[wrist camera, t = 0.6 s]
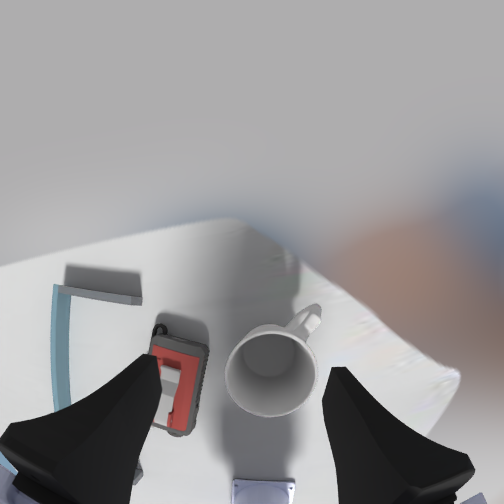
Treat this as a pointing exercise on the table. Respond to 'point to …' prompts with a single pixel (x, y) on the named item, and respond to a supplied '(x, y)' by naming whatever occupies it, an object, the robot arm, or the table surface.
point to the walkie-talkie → (178, 381)
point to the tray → (61, 340)
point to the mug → (274, 366)
